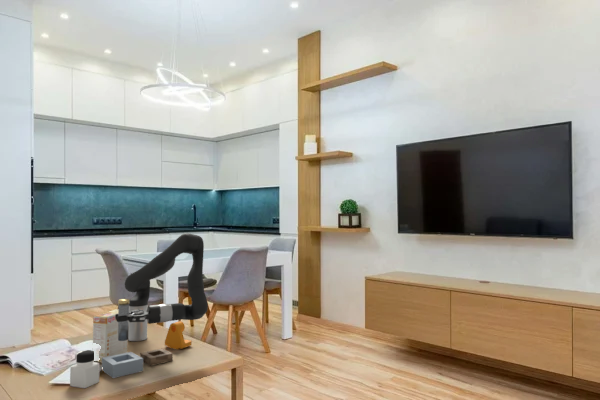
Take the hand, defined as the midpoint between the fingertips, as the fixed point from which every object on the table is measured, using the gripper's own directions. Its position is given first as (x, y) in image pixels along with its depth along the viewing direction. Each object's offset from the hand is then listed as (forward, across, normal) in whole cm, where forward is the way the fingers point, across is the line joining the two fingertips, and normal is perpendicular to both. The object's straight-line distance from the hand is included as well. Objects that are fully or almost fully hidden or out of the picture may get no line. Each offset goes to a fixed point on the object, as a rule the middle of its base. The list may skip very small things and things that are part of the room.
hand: (116, 317), depth 180 cm
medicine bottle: (+12, +9, +22) cm, 26 cm away
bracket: (-31, -23, +22) cm, 44 cm away
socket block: (-17, -7, +22) cm, 28 cm away
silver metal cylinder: (-3, 0, +9) cm, 9 cm away
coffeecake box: (0, -21, +22) cm, 30 cm away
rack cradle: (-3, 0, +21) cm, 22 cm away
